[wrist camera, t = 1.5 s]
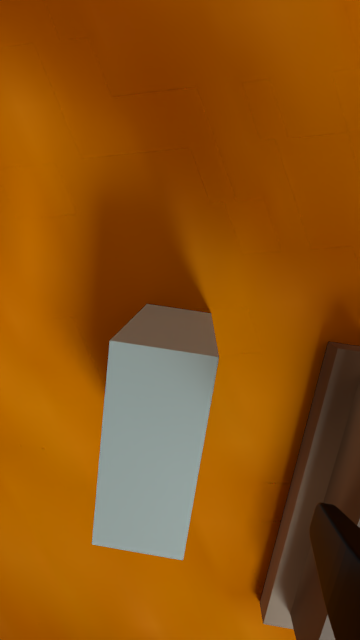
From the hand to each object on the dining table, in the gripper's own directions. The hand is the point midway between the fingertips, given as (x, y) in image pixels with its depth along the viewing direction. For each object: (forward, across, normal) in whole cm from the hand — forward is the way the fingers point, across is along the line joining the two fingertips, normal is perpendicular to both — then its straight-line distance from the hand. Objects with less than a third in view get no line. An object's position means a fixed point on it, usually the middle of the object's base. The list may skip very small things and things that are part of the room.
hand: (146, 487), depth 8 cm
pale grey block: (+7, 0, 0) cm, 7 cm away
